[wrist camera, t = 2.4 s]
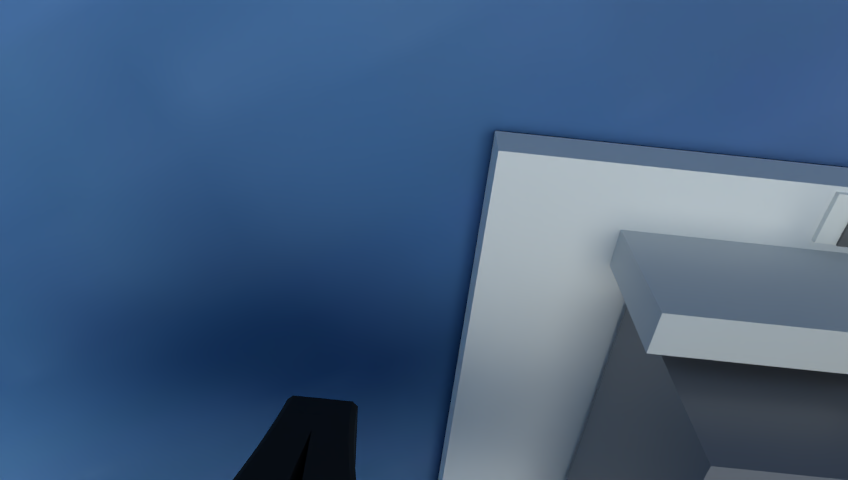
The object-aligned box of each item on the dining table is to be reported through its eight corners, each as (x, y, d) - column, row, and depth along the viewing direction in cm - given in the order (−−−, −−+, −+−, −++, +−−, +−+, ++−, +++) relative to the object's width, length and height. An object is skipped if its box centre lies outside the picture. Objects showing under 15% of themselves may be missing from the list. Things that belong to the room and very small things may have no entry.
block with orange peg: (824, 536, 15) (937, 730, 11) (556, 509, 15) (586, 694, 11) (1071, 220, 10) (1397, 390, 6) (671, 178, 10) (785, 328, 6)
